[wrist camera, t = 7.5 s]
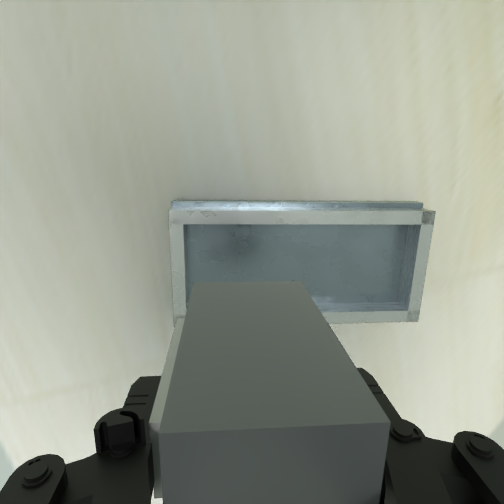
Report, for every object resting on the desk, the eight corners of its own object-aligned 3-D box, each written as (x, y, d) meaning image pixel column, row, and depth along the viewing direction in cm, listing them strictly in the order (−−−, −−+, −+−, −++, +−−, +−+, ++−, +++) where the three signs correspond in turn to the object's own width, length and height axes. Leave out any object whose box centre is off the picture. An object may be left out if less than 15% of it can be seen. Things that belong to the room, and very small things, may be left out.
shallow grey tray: (173, 199, 27) (168, 204, 25) (416, 201, 29) (436, 206, 26) (178, 316, 30) (174, 331, 27) (400, 311, 32) (417, 325, 29)
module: (193, 282, 16) (158, 433, 7) (301, 281, 16) (390, 422, 8) (196, 396, 17) (171, 632, 9) (294, 392, 18) (363, 614, 9)
